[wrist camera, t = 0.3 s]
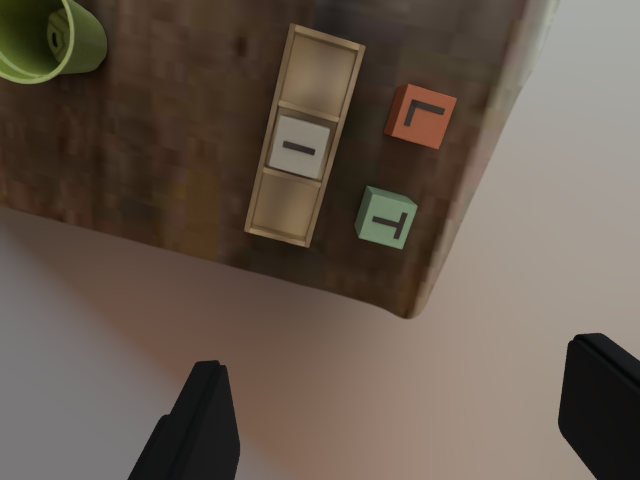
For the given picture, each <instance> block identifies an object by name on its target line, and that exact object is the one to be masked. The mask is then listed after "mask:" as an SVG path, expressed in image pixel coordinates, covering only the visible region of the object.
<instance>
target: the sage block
mask: <svg viewBox="0 0 640 480" xmlns="http://www.w3.org/2000/svg"><path fill="white" fill-rule="evenodd" d="M417 207H418V206H417V205H416V204H415V203H413V202H412V201H411V200H410V199H409V198H408V197H407V196H403V195H400V194H396V193H393V192H389V191H385V190H382V189H378V188H374V187H371V186H366V189H365V193H364V196H363V199H362V202H361V205H360V208H359V212H358V215H357V218H356V221H355V224H354V226H355V228H356V231H357V234H358V237H359V238H361V239H365V240H368V241H372V242H376V243H380V244H384V245H387V246H391V247H395V248H399V249H402V248H403V246H404V243H405V240H406V237H407V235H408V232H409V229H410V226H411V224H412V221H413V218H414V215H415V213H416V210H417Z"/></svg>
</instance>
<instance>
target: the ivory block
mask: <svg viewBox="0 0 640 480" xmlns="http://www.w3.org/2000/svg"><path fill="white" fill-rule="evenodd" d="M329 133H330V129H329V128H328V127H324V126H321V125H318V124H314V123H311V122H307V121H304V120H300V119H297V118H293V117H290V116H286V115H281V116H280V119H279V123H278V127H277V132H276V136H275V140H274V145H273V149H272V153H271V158H270V162H269V166H271V167H274V168H278V169H282V170H285V171H289V172H293V173H296V174H300V175H304V176H307V177H311V178H314V179H317V177H318V173H319V170H320V166H321V162H322V159H323V155H324V151H325V148H326V144H327V140H328V137H329Z"/></svg>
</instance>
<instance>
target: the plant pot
mask: <svg viewBox="0 0 640 480" xmlns="http://www.w3.org/2000/svg"><path fill="white" fill-rule="evenodd" d="M53 33H55V34H56V42H57V44H58V47H55V45H54V43H53V38H52V35H53ZM106 54H107V38H106V34H105V31H104V29H103V27H102V25H101V24H100V23H99V21H98V20H97V19H96V18H95V17H94V16H93V15H92V14H91V13H90V12H89V11H87V10H86V9H84V8H83V7H82V6H80V5H79V4H77V3H76V2H74V1H73V0H0V76H1V77H3V78H5V79H8V80H10V81H13V82H18V83H23V84H36V83H42V82H45V81H48V80H50V79H52V78H54V77H56V76H57V75H59V74H70V73H84V72H90V71H93V70H95V69H96V68H97V67H98V66H99V65H100V63H101V62H102V61H103V60H104V58H105V57H106Z"/></svg>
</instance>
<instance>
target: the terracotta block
mask: <svg viewBox="0 0 640 480" xmlns="http://www.w3.org/2000/svg"><path fill="white" fill-rule="evenodd" d="M456 100H457V99H456V98H454V97H450V96H447V95H444V94H441V93H437V92H434V91H431V90H427V89H424V88H421V87H418V86H414V85H411V84H407V85H404V86H401V87H398V88H397V91H396V95H395V98H394V101H393V104H392V107H391V110H390V114H389V117H388V120H387V123H386V126H385V129H384V134H386V135H390V136H393V137H396V138H400V139H403V140H407V141H410V142H414V143H417V144H420V145H424V146H427V147H431V148H434V149H439V147H440V144H441V141H442V138H443V136H444V133H445V130H446V127H447V125H448V122H449V119H450V116H451V114H452V111H453V108H454V105H455V103H456Z"/></svg>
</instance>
